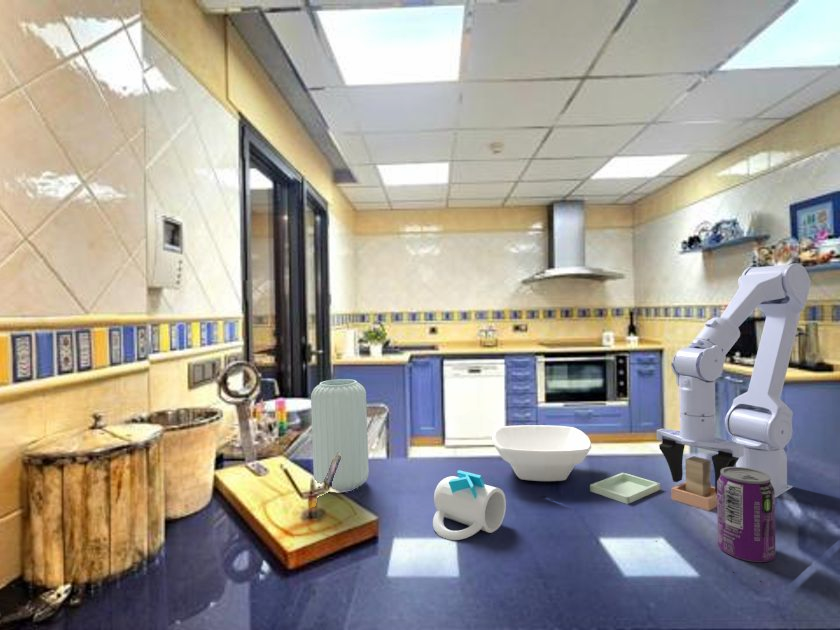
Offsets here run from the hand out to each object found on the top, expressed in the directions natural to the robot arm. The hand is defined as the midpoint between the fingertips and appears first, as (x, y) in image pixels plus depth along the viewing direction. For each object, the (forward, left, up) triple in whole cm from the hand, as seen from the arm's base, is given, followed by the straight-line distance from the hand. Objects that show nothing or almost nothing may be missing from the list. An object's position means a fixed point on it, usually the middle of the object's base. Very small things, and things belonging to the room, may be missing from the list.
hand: (698, 486), depth 91 cm
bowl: (+11, -28, -3) cm, 30 cm away
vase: (+48, -50, -3) cm, 69 cm away
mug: (+40, -21, -3) cm, 45 cm away
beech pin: (0, 0, -2) cm, 2 cm away
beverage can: (+13, +13, -3) cm, 19 cm away
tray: (+6, -11, -3) cm, 13 cm away
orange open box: (0, 0, -3) cm, 3 cm away
